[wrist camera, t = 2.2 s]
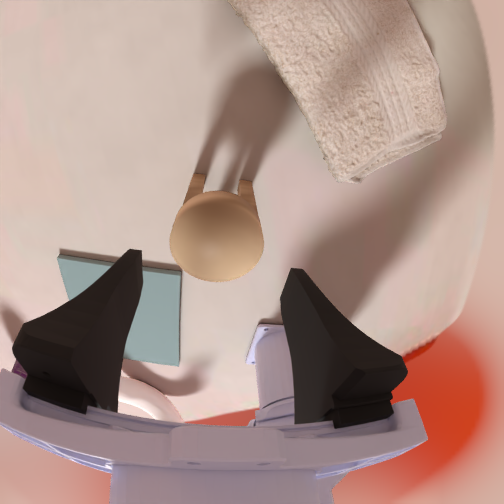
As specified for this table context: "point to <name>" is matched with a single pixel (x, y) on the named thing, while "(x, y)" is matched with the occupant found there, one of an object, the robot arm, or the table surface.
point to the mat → (148, 311)
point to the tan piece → (217, 232)
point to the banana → (148, 400)
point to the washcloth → (354, 76)
